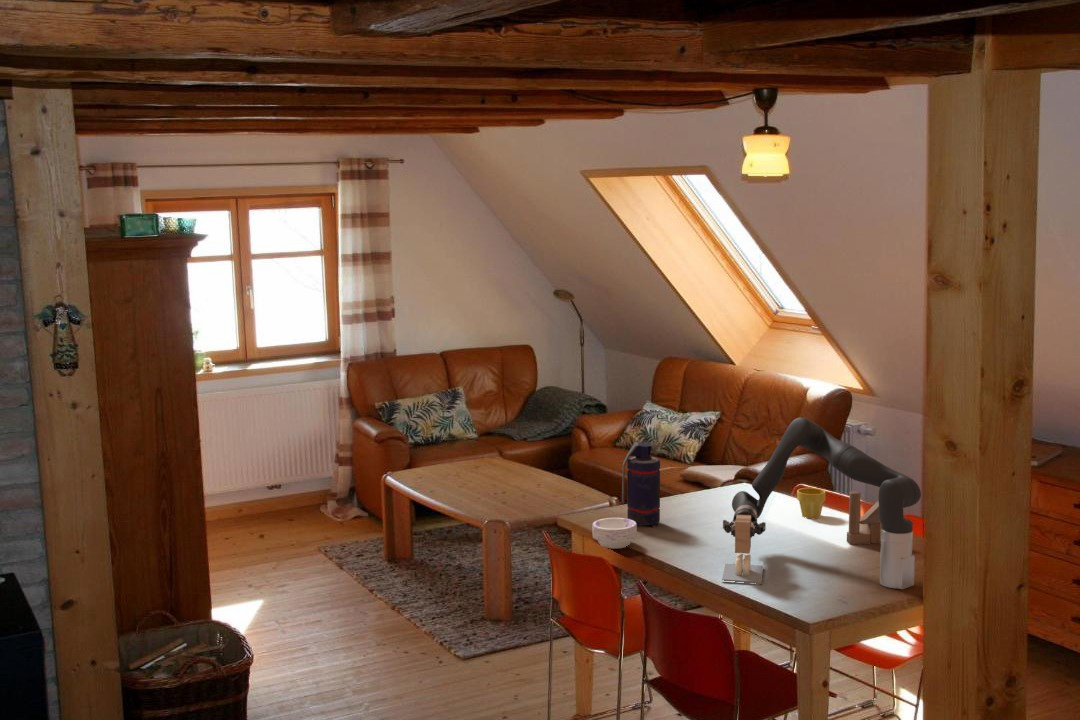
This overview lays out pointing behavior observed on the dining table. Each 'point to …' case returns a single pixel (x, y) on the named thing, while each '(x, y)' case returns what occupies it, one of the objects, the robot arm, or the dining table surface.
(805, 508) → the plant pot
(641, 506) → the grenade
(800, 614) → the dining table surface
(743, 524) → the brown rectangular block
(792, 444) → the robot arm
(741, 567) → the peg stand
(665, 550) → the dining table surface
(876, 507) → the wooden block structure
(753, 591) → the dining table surface
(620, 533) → the white bowl
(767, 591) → the dining table surface
